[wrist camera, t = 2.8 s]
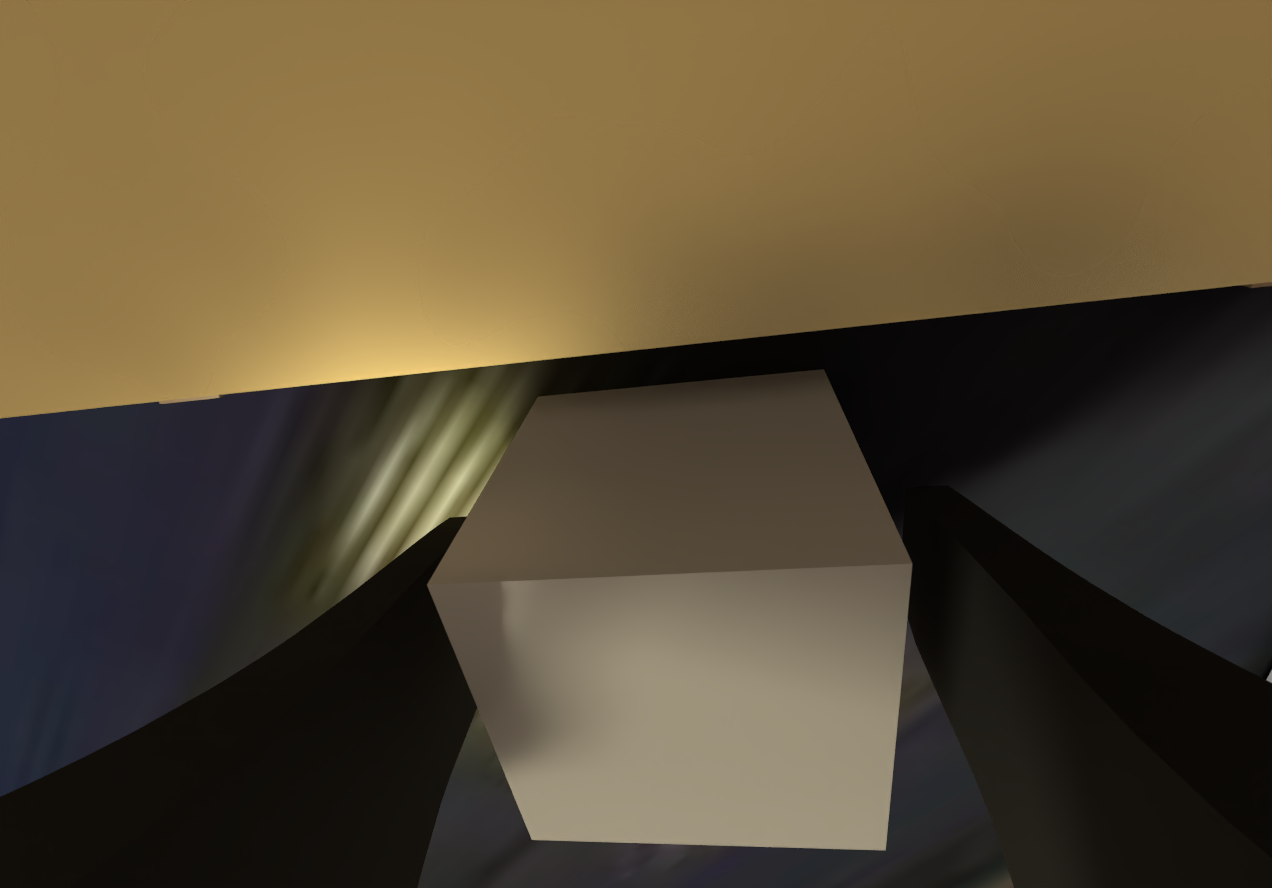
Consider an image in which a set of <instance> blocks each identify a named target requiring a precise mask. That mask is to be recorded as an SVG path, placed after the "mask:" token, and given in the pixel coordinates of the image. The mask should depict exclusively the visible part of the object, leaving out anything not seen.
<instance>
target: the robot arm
mask: <svg viewBox="0 0 1272 888" xmlns="http://www.w3.org/2000/svg"><path fill="white" fill-rule="evenodd" d="M466 518H467V517H453V518H449V519H447V520H446V521H444V522H443V523H441V524H440V525H438V526H437V527H436V528H434V529H433V530H432V531H430V532H429V533H428V534H426V535H425V536H424V537H422V538H421V539H420V540H418V541H417V542H416V543H415V544H413V545H412V546H411V547H410V548H408V549H407V550H406V551H404V552H403V553H402V554H401V555H399V556H398V557H397V558H396V559H394V560H393V561H392V562H391V563H389V564H388V565H387V566H386V567H384V568H383V569H382V570H380V571H379V572H378V573H377V574H375V575H374V576H373V577H372V578H370V579H369V580H368V581H366V582H365V583H364V584H363V585H361V586H360V587H359V588H358V589H356V590H355V591H354V592H352V593H351V594H350V595H348V596H347V597H346V598H344V599H343V600H342V601H340V602H339V603H337V604H336V605H335V606H333V607H332V608H331V609H329V610H328V611H327V612H325V613H324V614H322V615H321V616H320V617H318V618H317V619H316V620H314V621H313V622H312V623H310V624H309V625H307V626H306V627H305V628H303V629H302V630H301V631H299V632H298V633H297V634H295V635H294V636H292V637H291V638H289V639H288V640H286V641H285V642H283V643H282V644H281V645H279V646H278V647H276V648H275V649H273V650H272V651H270V652H269V653H267V654H266V655H264V656H262V657H261V658H259V659H258V660H256V661H255V662H253V663H251V664H250V665H248V666H247V667H245V668H244V669H242V670H240V671H239V672H237V673H236V674H234V675H232V676H231V677H229V678H228V679H226V680H224V681H223V682H221V683H219V684H218V685H216V686H214V687H213V688H211V689H209V690H207V691H206V692H204V693H202V694H200V695H199V696H197V697H195V698H193V699H192V700H190V701H188V702H186V703H184V704H183V705H181V706H179V707H177V708H176V709H174V710H172V711H170V712H168V713H167V714H165V715H163V716H161V717H160V718H158V719H156V720H154V721H152V722H151V723H149V724H147V725H145V726H144V727H142V728H140V729H138V730H136V731H134V732H132V733H131V734H129V735H127V736H125V737H123V738H121V739H119V740H117V741H115V742H113V743H111V744H109V745H107V746H105V747H103V748H101V749H99V750H97V751H95V752H94V753H92V754H90V755H88V756H86V757H84V758H82V759H79V760H77V761H75V762H73V763H71V764H69V765H67V766H65V767H63V768H61V769H59V770H57V771H55V772H53V773H51V774H49V775H46V776H44V777H42V778H40V779H38V780H36V781H34V782H32V783H30V784H27V785H25V786H23V787H21V788H19V789H17V790H14V791H12V792H10V793H8V794H6V795H3V796H1V797H0V888H417V887H418V883H419V879H420V875H421V871H422V867H423V864H424V860H425V857H426V853H427V850H428V846H429V843H430V839H431V836H432V832H433V829H434V825H435V822H436V818H437V815H438V811H439V808H440V804H441V801H442V798H443V795H444V793H445V790H446V787H447V784H448V781H449V778H450V775H451V773H452V770H453V768H454V765H455V762H456V760H457V757H458V755H459V752H460V750H461V747H462V745H463V742H464V739H465V737H466V734H467V732H468V729H469V727H470V724H471V722H472V719H473V716H474V714H475V711H476V709H477V705H476V703H475V700H474V698H473V695H472V693H471V691H470V688H469V686H468V683H467V681H466V678H465V676H464V674H463V671H462V669H461V666H460V664H459V661H458V659H457V657H456V654H455V652H454V649H453V647H452V644H451V642H450V640H449V637H448V635H447V632H446V630H445V628H444V625H443V623H442V620H441V618H440V615H439V613H438V611H437V608H436V606H435V603H434V601H433V598H432V596H431V594H430V591H429V589H428V586H427V584H428V582H429V581H430V579H431V577H432V575H433V574H434V572H435V570H436V569H437V567H438V565H439V564H440V562H441V560H442V559H443V557H444V555H445V553H446V552H447V550H448V548H449V547H450V545H451V543H452V542H453V540H454V538H455V536H456V535H457V533H458V531H459V530H460V528H461V526H462V525H463V523H464V521H465V520H466ZM902 542H903V544H904V546H905V548H906V550H907V553H908V555H909V557H910V559H911V561H912V574H911V585H910V595H909V606H908V620H909V623H910V627H911V630H912V633H913V636H914V640H915V643H916V645H917V647H918V650H919V652H920V654H921V657H922V659H923V661H924V664H925V666H926V668H927V671H928V673H929V675H930V677H931V680H932V682H933V684H934V687H935V689H936V691H937V693H938V696H939V698H940V700H941V702H942V705H943V707H944V709H945V711H946V714H947V716H948V718H949V720H950V723H951V725H952V727H953V729H954V732H955V734H956V736H957V738H958V741H959V743H960V745H961V747H962V750H963V752H964V754H965V756H966V759H967V761H968V763H969V765H970V768H971V770H972V772H973V774H974V777H975V779H976V781H977V784H978V786H979V789H980V791H981V794H982V796H983V799H984V801H985V804H986V806H987V809H988V811H989V814H990V817H991V820H992V823H993V826H994V829H995V832H996V835H997V838H998V841H999V844H1000V847H1001V849H1002V852H1003V855H1004V858H1005V861H1006V864H1007V867H1008V870H1009V873H1010V876H1011V879H1012V882H1013V885H1014V888H1272V670H1271V672H1270V674H1269V676H1268V678H1267V680H1265V679H1263V678H1261V677H1259V676H1257V675H1255V674H1253V673H1251V672H1249V671H1247V670H1245V669H1243V668H1241V667H1239V666H1237V665H1235V664H1233V663H1231V662H1229V661H1227V660H1225V659H1224V658H1222V657H1220V656H1218V655H1216V654H1214V653H1212V652H1210V651H1208V650H1207V649H1205V648H1203V647H1201V646H1199V645H1197V644H1195V643H1193V642H1191V641H1190V640H1188V639H1186V638H1184V637H1182V636H1180V635H1178V634H1176V633H1174V632H1173V631H1171V630H1169V629H1167V628H1166V627H1164V626H1162V625H1160V624H1158V623H1157V622H1155V621H1153V620H1151V619H1150V618H1148V617H1146V616H1144V615H1143V614H1141V613H1139V612H1138V611H1136V610H1134V609H1133V608H1131V607H1129V606H1128V605H1126V604H1124V603H1123V602H1121V601H1119V600H1118V599H1116V598H1114V597H1113V596H1111V595H1109V594H1108V593H1106V592H1105V591H1103V590H1101V589H1100V588H1098V587H1096V586H1095V585H1093V584H1091V583H1090V582H1088V581H1087V580H1085V579H1084V578H1082V577H1080V576H1079V575H1077V574H1076V573H1074V572H1073V571H1071V570H1069V569H1068V568H1066V567H1065V566H1063V565H1062V564H1060V563H1059V562H1057V561H1056V560H1054V559H1053V558H1051V557H1050V556H1048V555H1047V554H1045V553H1044V552H1042V551H1041V550H1039V549H1038V548H1036V547H1035V546H1034V545H1032V544H1031V543H1029V542H1028V541H1026V540H1025V539H1023V538H1022V537H1020V536H1019V535H1018V534H1016V533H1015V532H1013V531H1012V530H1010V529H1009V528H1008V527H1006V526H1005V525H1003V524H1002V523H1001V522H999V521H998V520H996V519H995V518H993V517H992V516H991V515H989V514H988V513H986V512H985V511H984V510H982V509H981V508H979V507H978V506H977V505H975V504H974V503H972V502H971V501H970V500H968V499H967V498H965V497H964V496H962V495H961V494H959V493H958V492H956V491H955V490H953V489H952V488H950V487H949V486H935V487H919V488H907V489H906V502H905V514H904V526H903V539H902Z"/></svg>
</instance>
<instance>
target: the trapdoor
mask: <svg viewBox="0 0 1272 888" xmlns="http://www.w3.org/2000/svg"><path fill="white" fill-rule="evenodd" d="M1266 282H1272V0H0V418H7V417H16V416H26V415H35V414H44V413H54V412H63V411H72V410H82V409H91V408H100V407H110V406H119V405H128V404H138V403H147V402H156V401H166V400H175V399H184V398H194V397H203V396H212V395H221V394H231V393H240V392H249V391H259V390H268V389H277V388H287V387H296V386H305V385H315V384H324V383H333V382H343V381H352V380H361V379H371V378H380V377H389V376H399V375H408V374H417V373H427V372H436V371H445V370H455V369H464V368H473V367H483V366H492V365H501V364H511V363H520V362H529V361H539V360H548V359H557V358H567V357H576V356H585V355H595V354H604V353H613V352H623V351H632V350H641V349H651V348H660V347H669V346H679V345H688V344H697V343H707V342H716V341H725V340H735V339H744V338H753V337H763V336H772V335H781V334H791V333H800V332H809V331H818V330H828V329H837V328H846V327H856V326H865V325H874V324H884V323H893V322H902V321H912V320H921V319H930V318H940V317H949V316H958V315H968V314H977V313H986V312H996V311H1005V310H1014V309H1024V308H1033V307H1042V306H1052V305H1061V304H1070V303H1080V302H1089V301H1098V300H1108V299H1117V298H1126V297H1136V296H1145V295H1154V294H1164V293H1173V292H1182V291H1192V290H1201V289H1210V288H1220V287H1229V286H1238V285H1248V284H1257V283H1266Z"/></svg>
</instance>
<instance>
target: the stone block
mask: <svg viewBox="0 0 1272 888" xmlns="http://www.w3.org/2000/svg"><path fill="white" fill-rule="evenodd" d="M911 574H912V561H911V559H910V557H909V555H908V553H907V550H906V548H905V546H904V544H903V542H902V540H901V537H900V535H899V533H898V531H897V529H896V526H895V524H894V522H893V520H892V518H891V515H890V513H889V511H888V509H887V507H886V504H885V502H884V500H883V498H882V496H881V494H880V491H879V489H878V487H877V485H876V483H875V480H874V478H873V476H872V474H871V472H870V469H869V467H868V465H867V463H866V461H865V458H864V456H863V454H862V452H861V450H860V448H859V445H858V443H857V441H856V439H855V437H854V434H853V432H852V430H851V428H850V426H849V423H848V421H847V419H846V417H845V415H844V412H843V410H842V408H841V406H840V404H839V402H838V399H837V397H836V395H835V393H834V391H833V388H832V386H831V384H830V382H829V380H828V377H827V375H826V373H825V371H824V369H821V370H811V371H800V372H790V373H779V374H769V375H758V376H748V377H738V378H727V379H717V380H706V381H696V382H686V383H675V384H665V385H654V386H644V387H634V388H623V389H613V390H602V391H592V392H582V393H571V394H561V395H550V396H540V397H537V399H536V401H535V403H534V404H533V406H532V408H531V409H530V411H529V413H528V414H527V416H526V418H525V419H524V421H523V423H522V425H521V426H520V428H519V430H518V431H517V433H516V435H515V436H514V438H513V440H512V442H511V443H510V445H509V447H508V448H507V450H506V452H505V453H504V455H503V457H502V458H501V460H500V462H499V464H498V465H497V467H496V469H495V470H494V472H493V474H492V475H491V477H490V479H489V481H488V482H487V484H486V486H485V487H484V489H483V491H482V492H481V494H480V496H479V497H478V499H477V501H476V503H475V504H474V506H473V508H472V509H471V511H470V513H469V514H468V516H467V518H466V520H465V521H464V523H463V525H462V526H461V528H460V530H459V531H458V533H457V535H456V536H455V538H454V540H453V542H452V543H451V545H450V547H449V548H448V550H447V552H446V553H445V555H444V557H443V559H442V560H441V562H440V564H439V565H438V567H437V569H436V570H435V572H434V574H433V575H432V577H431V579H430V581H429V582H428V584H427V586H428V589H429V591H430V594H431V596H432V598H433V601H434V603H435V606H436V608H437V611H438V613H439V615H440V618H441V620H442V623H443V625H444V628H445V630H446V632H447V635H448V637H449V640H450V642H451V644H452V647H453V649H454V652H455V654H456V657H457V659H458V661H459V664H460V666H461V669H462V671H463V674H464V676H465V678H466V681H467V683H468V686H469V688H470V691H471V693H472V695H473V698H474V700H475V703H476V705H477V708H478V710H479V712H480V715H481V717H482V720H483V722H484V725H485V727H486V729H487V732H488V734H489V737H490V739H491V742H492V744H493V746H494V749H495V751H496V754H497V756H498V759H499V761H500V763H501V766H502V768H503V771H504V773H505V775H506V778H507V780H508V783H509V785H510V788H511V790H512V792H513V795H514V797H515V800H516V802H517V805H518V807H519V809H520V812H521V814H522V817H523V819H524V822H525V824H526V826H527V829H528V831H529V834H530V836H531V839H532V840H556V841H590V842H623V843H657V844H690V845H724V846H758V847H791V848H825V849H859V850H886V840H887V829H888V818H889V808H890V797H891V786H892V776H893V765H894V755H895V744H896V733H897V723H898V712H899V702H900V691H901V680H902V670H903V659H904V648H905V638H906V627H907V617H908V606H909V595H910V585H911Z"/></svg>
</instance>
